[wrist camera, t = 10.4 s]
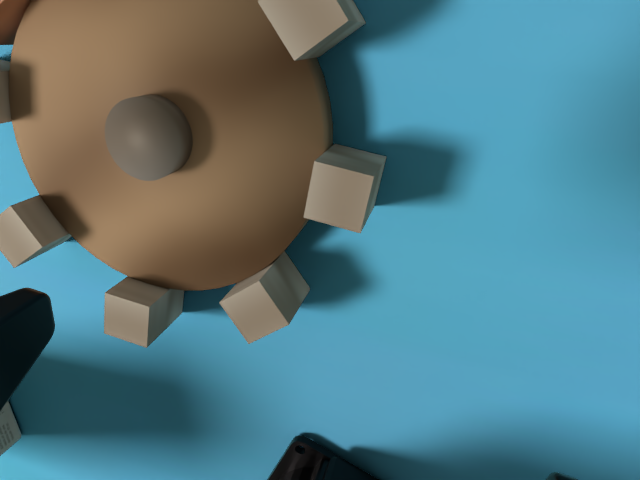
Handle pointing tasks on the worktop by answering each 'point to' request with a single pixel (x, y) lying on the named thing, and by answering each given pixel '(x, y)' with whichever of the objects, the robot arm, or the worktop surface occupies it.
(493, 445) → the worktop surface
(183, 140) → the sprocket
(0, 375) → the robot arm
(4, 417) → the coffee box
